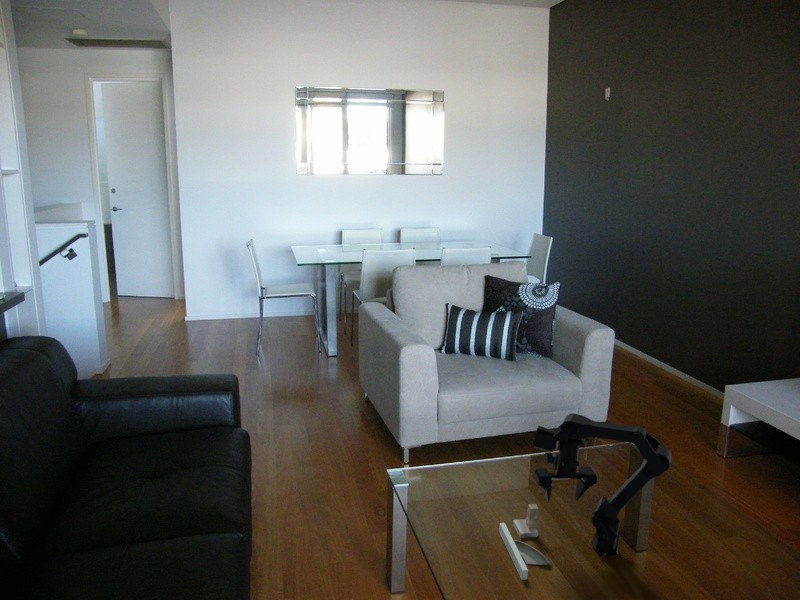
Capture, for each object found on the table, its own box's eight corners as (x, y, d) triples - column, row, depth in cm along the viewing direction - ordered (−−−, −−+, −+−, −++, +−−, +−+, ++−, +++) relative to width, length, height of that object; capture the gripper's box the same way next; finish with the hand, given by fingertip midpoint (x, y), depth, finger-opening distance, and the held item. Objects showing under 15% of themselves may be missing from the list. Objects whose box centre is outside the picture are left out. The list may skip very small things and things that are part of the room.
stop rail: (503, 531, 205) (504, 522, 204) (527, 579, 184) (528, 570, 183) (498, 531, 205) (499, 523, 204) (521, 579, 184) (522, 570, 183)
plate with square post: (530, 523, 210) (533, 499, 207) (538, 537, 203) (541, 512, 201) (513, 524, 209) (515, 500, 206) (520, 538, 202) (522, 513, 200)
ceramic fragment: (552, 567, 190) (553, 555, 189) (542, 575, 187) (544, 563, 186) (512, 545, 199) (513, 534, 198) (502, 552, 196) (503, 541, 195)
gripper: (586, 441, 206) (580, 485, 210) (529, 443, 203) (524, 487, 207) (601, 459, 195) (595, 505, 200) (542, 461, 193) (536, 507, 197)
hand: (562, 500), depth 201 cm, fingers open, 9 cm apart
